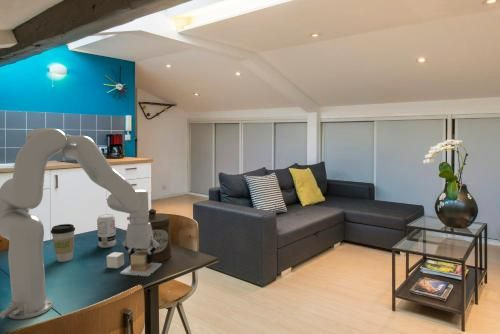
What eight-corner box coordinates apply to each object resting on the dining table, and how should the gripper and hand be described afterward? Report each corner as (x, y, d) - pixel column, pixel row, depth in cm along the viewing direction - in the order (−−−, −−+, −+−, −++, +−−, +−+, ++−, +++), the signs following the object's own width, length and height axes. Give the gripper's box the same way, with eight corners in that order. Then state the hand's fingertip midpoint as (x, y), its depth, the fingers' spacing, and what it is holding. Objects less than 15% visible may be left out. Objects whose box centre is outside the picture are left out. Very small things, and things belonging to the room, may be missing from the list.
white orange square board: (148, 276, 146) (148, 274, 146) (120, 274, 149) (120, 271, 149) (161, 265, 158) (161, 263, 158) (135, 263, 160) (135, 261, 160)
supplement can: (98, 244, 187) (96, 215, 185) (115, 242, 190) (114, 213, 189) (99, 249, 180) (97, 218, 178) (117, 246, 183) (115, 216, 181)
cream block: (117, 268, 155) (117, 256, 154) (107, 267, 156) (106, 256, 155) (124, 264, 160) (123, 252, 159) (113, 263, 161) (113, 252, 160)
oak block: (144, 270, 150) (143, 256, 149) (131, 269, 151) (130, 255, 150) (151, 265, 155) (151, 251, 155) (138, 264, 157) (137, 250, 156)
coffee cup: (47, 261, 164) (45, 227, 163) (67, 254, 173) (65, 222, 171) (62, 264, 160) (59, 230, 158) (81, 257, 168) (79, 225, 167)
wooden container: (135, 264, 160) (133, 213, 157) (139, 252, 174) (136, 206, 172) (171, 261, 162) (169, 212, 160) (171, 250, 177) (169, 204, 174)
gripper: (114, 221, 149) (117, 264, 151) (155, 223, 146) (156, 266, 148) (124, 216, 156) (126, 257, 158) (163, 218, 153) (164, 260, 155)
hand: (141, 261), depth 153 cm, fingers open, 7 cm apart
